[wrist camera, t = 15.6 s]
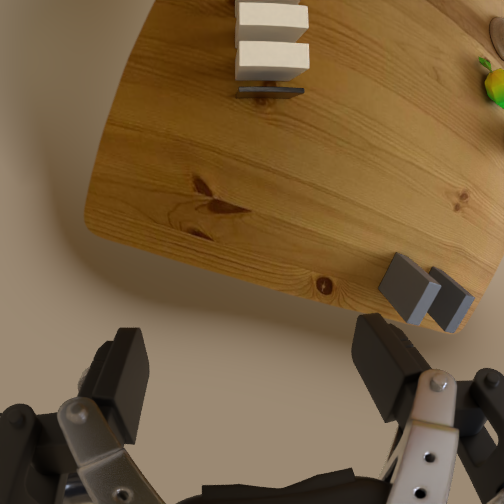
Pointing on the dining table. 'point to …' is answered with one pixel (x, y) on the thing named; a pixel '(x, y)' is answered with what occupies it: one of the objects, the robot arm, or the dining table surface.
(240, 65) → the cream book
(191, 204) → the dining table surface
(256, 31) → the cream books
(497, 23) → the candle holder
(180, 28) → the dining table surface
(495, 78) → the apple
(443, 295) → the grey books
